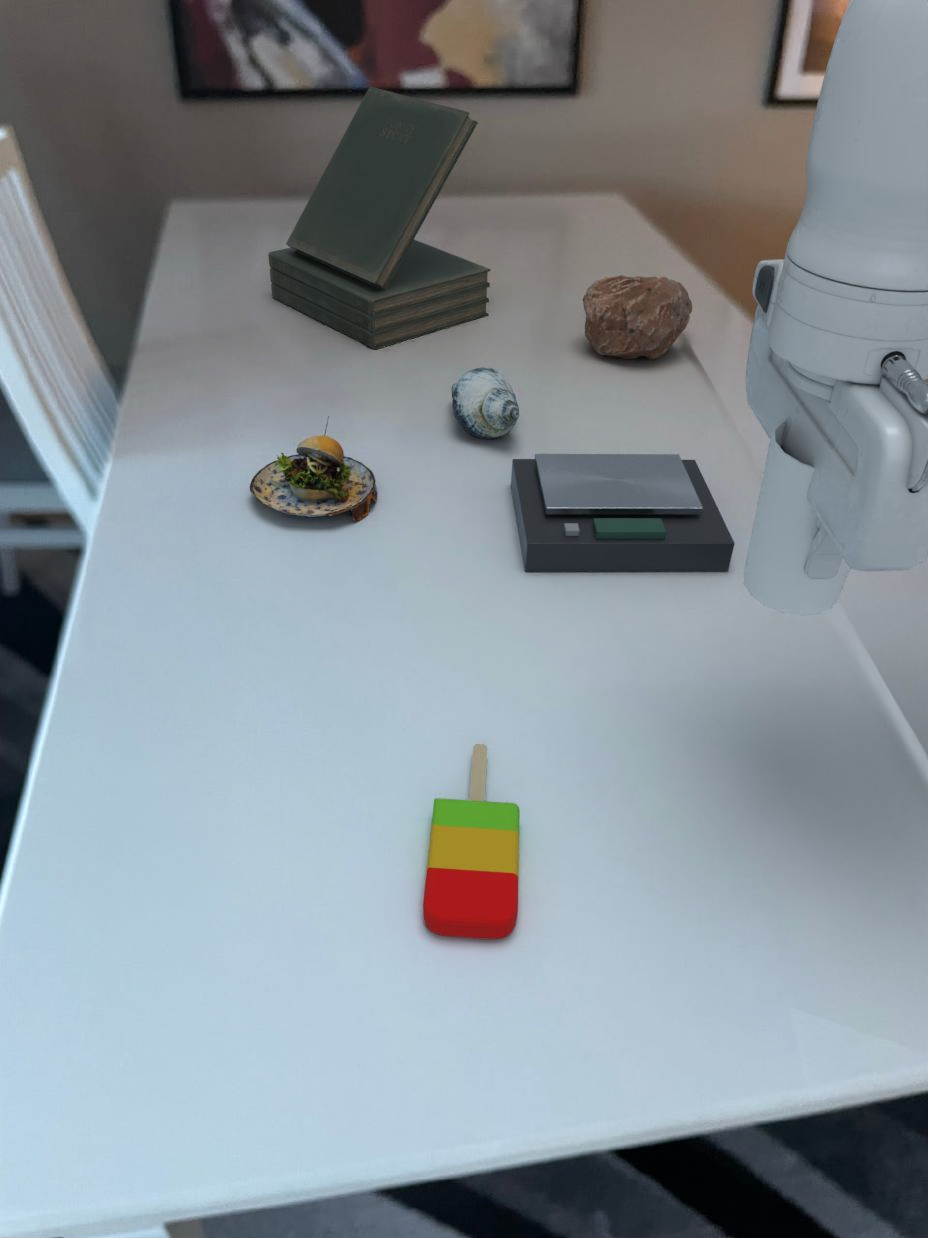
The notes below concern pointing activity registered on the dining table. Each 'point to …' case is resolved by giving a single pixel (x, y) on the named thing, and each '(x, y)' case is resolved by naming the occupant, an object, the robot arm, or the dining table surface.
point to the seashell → (485, 403)
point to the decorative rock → (635, 315)
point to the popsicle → (473, 863)
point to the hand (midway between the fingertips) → (801, 545)
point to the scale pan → (616, 484)
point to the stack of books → (382, 229)
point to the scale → (618, 534)
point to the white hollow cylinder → (787, 539)
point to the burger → (316, 481)
